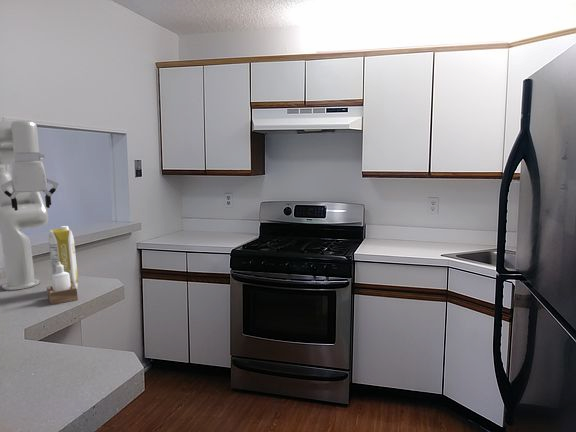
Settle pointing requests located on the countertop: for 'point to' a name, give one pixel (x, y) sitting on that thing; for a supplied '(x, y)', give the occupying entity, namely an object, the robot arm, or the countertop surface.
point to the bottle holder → (62, 295)
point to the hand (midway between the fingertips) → (32, 208)
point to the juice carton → (63, 252)
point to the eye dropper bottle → (60, 279)
